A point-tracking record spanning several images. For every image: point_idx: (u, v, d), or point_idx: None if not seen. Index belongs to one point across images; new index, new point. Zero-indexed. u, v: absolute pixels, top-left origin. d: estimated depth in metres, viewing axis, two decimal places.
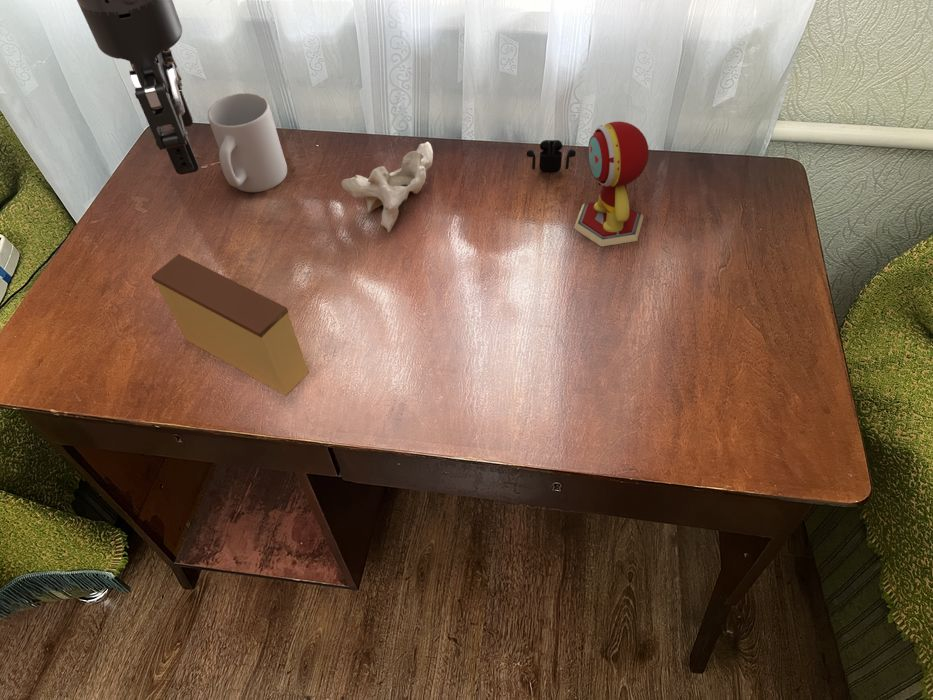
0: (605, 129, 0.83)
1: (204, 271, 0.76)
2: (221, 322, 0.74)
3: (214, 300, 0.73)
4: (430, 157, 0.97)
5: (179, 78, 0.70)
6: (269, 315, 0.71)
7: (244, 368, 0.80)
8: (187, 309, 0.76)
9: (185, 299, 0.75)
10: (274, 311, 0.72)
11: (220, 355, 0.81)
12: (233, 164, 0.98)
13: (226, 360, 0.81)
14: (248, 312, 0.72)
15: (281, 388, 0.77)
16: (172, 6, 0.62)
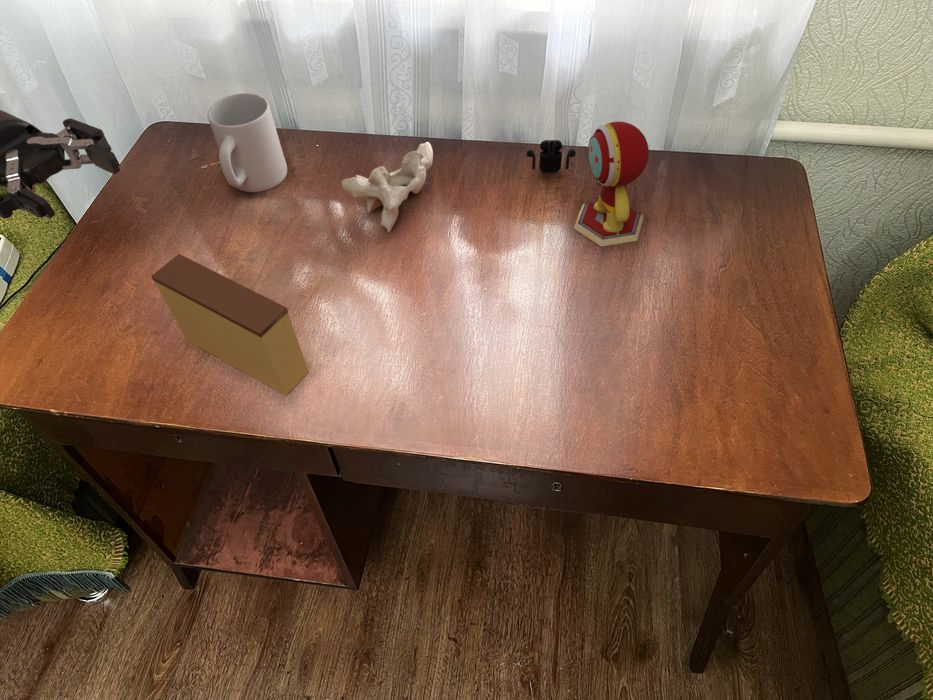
0: (605, 129, 0.83)
1: (204, 271, 0.76)
2: (221, 322, 0.74)
3: (214, 300, 0.73)
4: (430, 157, 0.97)
5: None
6: (269, 315, 0.71)
7: (244, 368, 0.80)
8: (187, 309, 0.76)
9: (185, 299, 0.75)
10: (274, 311, 0.72)
11: (220, 355, 0.81)
12: (233, 164, 0.98)
13: (226, 360, 0.81)
14: (248, 312, 0.72)
15: (281, 388, 0.77)
16: None
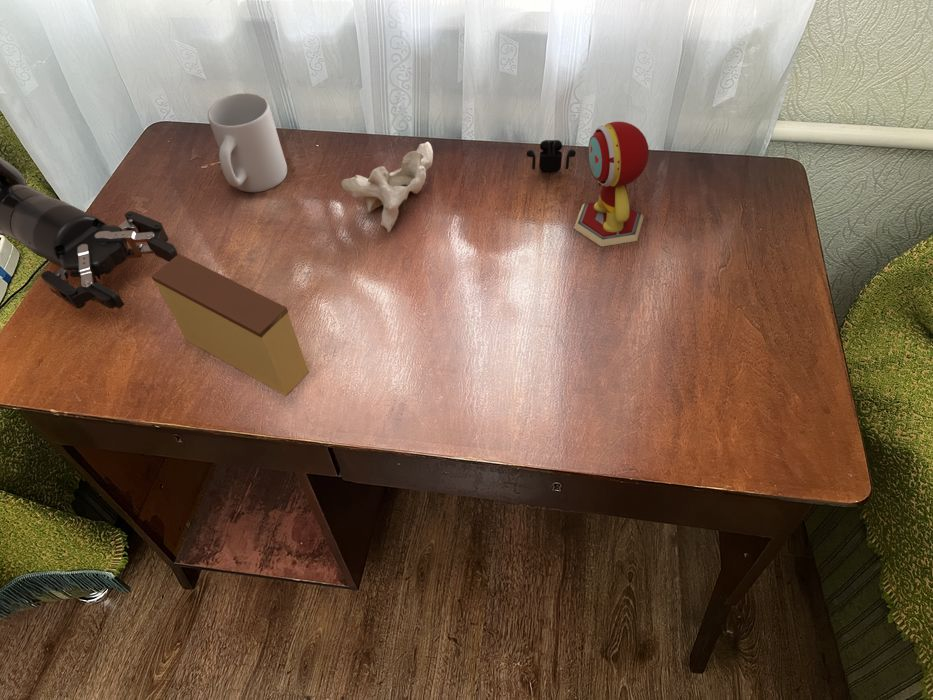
0: (605, 129, 0.83)
1: (204, 271, 0.76)
2: (221, 322, 0.74)
3: (214, 300, 0.73)
4: (430, 157, 0.97)
5: (101, 284, 0.84)
6: (269, 315, 0.71)
7: (244, 368, 0.80)
8: (187, 309, 0.76)
9: (185, 299, 0.75)
10: (274, 311, 0.72)
11: (220, 355, 0.81)
12: (233, 164, 0.98)
13: (226, 360, 0.81)
14: (248, 312, 0.72)
15: (281, 388, 0.77)
16: None
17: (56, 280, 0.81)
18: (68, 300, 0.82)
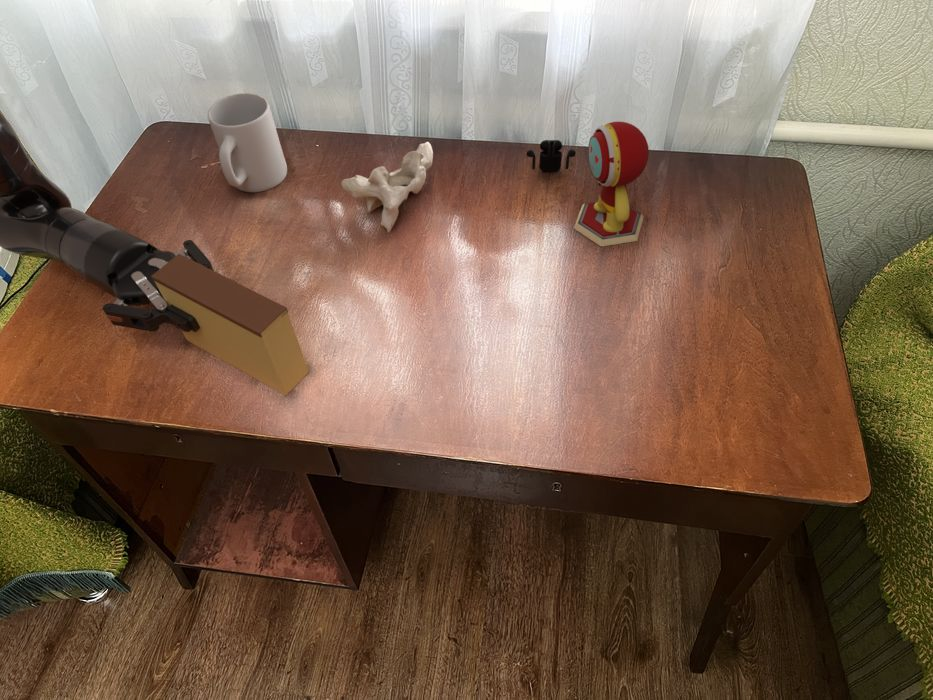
0: (605, 129, 0.83)
1: (204, 271, 0.76)
2: (221, 322, 0.74)
3: (214, 300, 0.73)
4: (430, 157, 0.97)
5: None
6: (269, 315, 0.71)
7: (244, 368, 0.80)
8: (187, 309, 0.76)
9: (185, 299, 0.75)
10: (274, 311, 0.72)
11: (220, 355, 0.81)
12: (233, 164, 0.98)
13: (226, 360, 0.81)
14: (248, 312, 0.72)
15: (281, 388, 0.77)
16: None
17: (123, 309, 0.78)
18: (140, 326, 0.79)
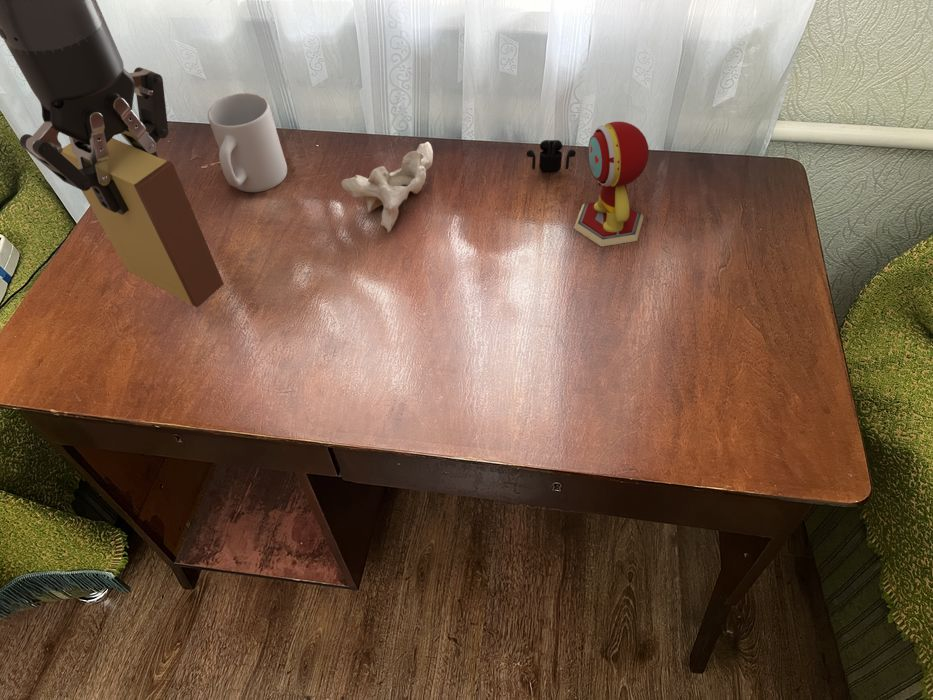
0: (605, 129, 0.83)
1: (185, 204, 0.67)
2: (162, 258, 0.70)
3: (180, 252, 0.69)
4: (430, 157, 0.97)
5: None
6: (210, 288, 0.75)
7: (111, 234, 0.73)
8: (132, 211, 0.66)
9: (149, 222, 0.66)
10: (215, 284, 0.75)
11: (93, 203, 0.70)
12: (233, 164, 0.98)
13: (95, 210, 0.71)
14: (198, 279, 0.73)
15: (134, 273, 0.78)
16: None
17: (62, 163, 0.59)
18: (57, 173, 0.61)
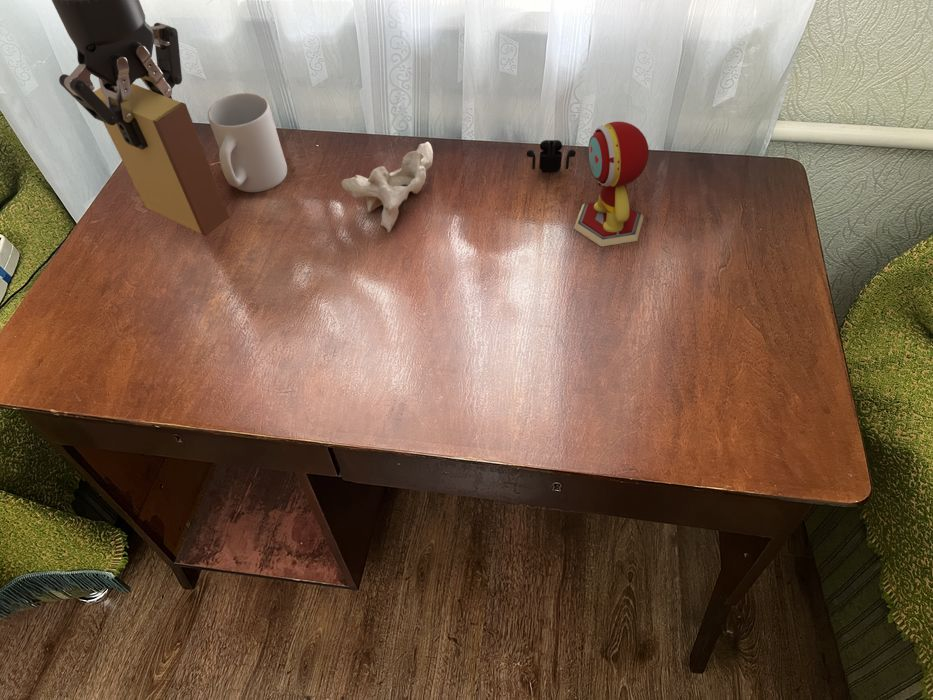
0: (605, 129, 0.83)
1: (196, 142, 0.79)
2: (176, 190, 0.82)
3: (191, 184, 0.81)
4: (430, 157, 0.97)
5: None
6: (217, 219, 0.86)
7: (132, 171, 0.85)
8: (151, 146, 0.78)
9: (165, 156, 0.77)
10: (221, 217, 0.87)
11: (117, 143, 0.82)
12: (233, 164, 0.98)
13: (119, 149, 0.82)
14: (207, 210, 0.84)
15: (151, 209, 0.89)
16: None
17: (94, 99, 0.70)
18: (89, 109, 0.72)
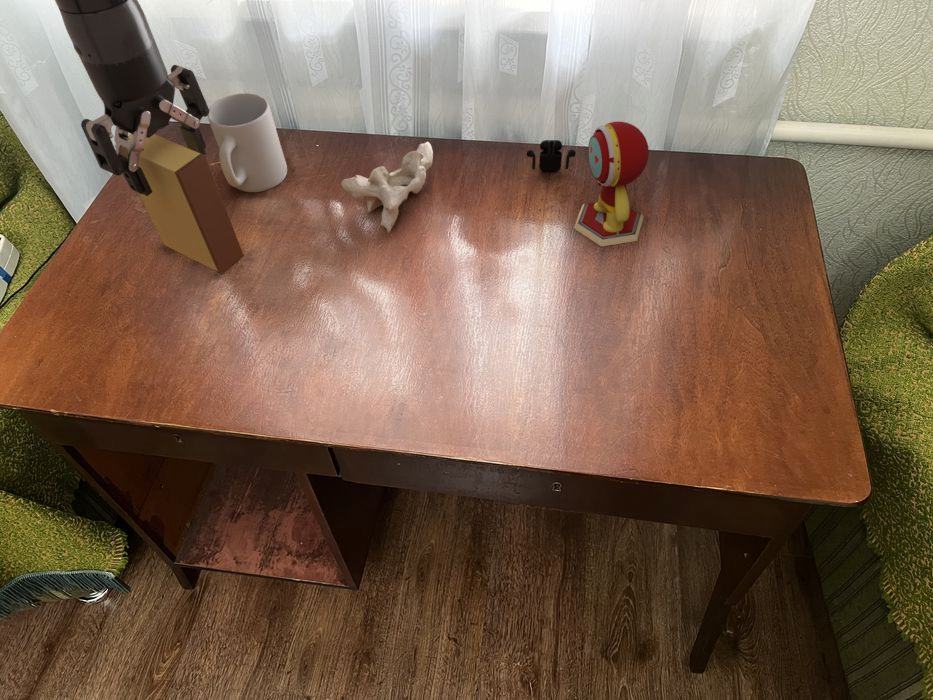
0: (605, 129, 0.83)
1: (213, 188, 0.84)
2: (195, 232, 0.87)
3: (209, 227, 0.86)
4: (430, 157, 0.97)
5: None
6: (232, 258, 0.91)
7: (152, 213, 0.90)
8: (172, 193, 0.83)
9: (185, 202, 0.83)
10: (236, 256, 0.92)
11: None
12: (233, 164, 0.98)
13: (141, 194, 0.88)
14: (223, 250, 0.89)
15: (170, 247, 0.94)
16: None
17: (109, 146, 0.74)
18: (98, 157, 0.75)
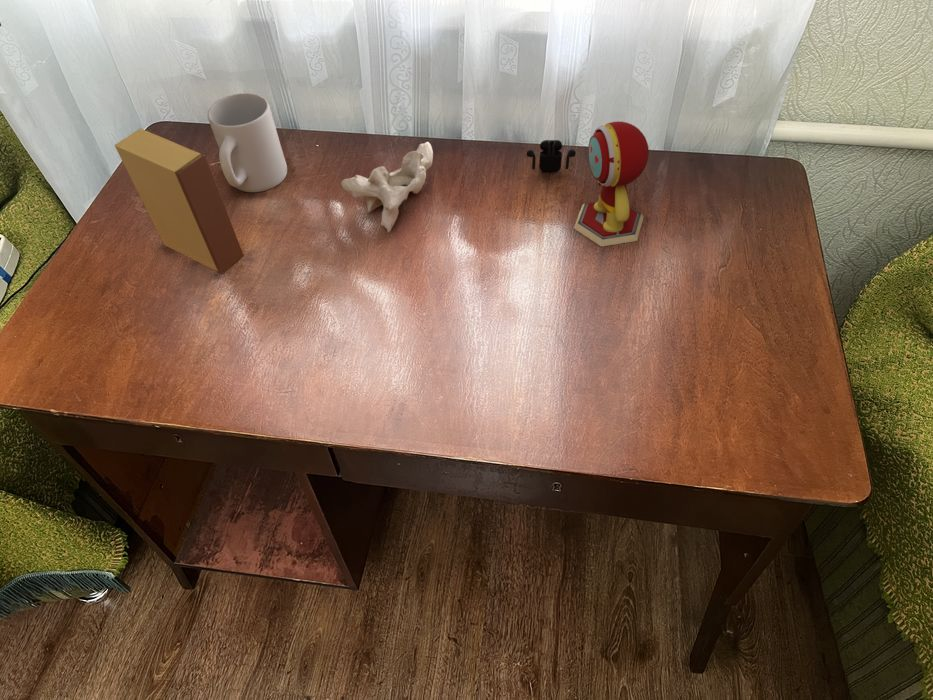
0: (605, 129, 0.83)
1: (213, 188, 0.84)
2: (195, 232, 0.87)
3: (209, 227, 0.86)
4: (430, 157, 0.97)
5: None
6: (232, 258, 0.91)
7: (152, 213, 0.90)
8: (172, 193, 0.83)
9: (185, 202, 0.83)
10: (236, 256, 0.92)
11: (139, 188, 0.87)
12: (233, 164, 0.98)
13: (141, 194, 0.88)
14: (223, 250, 0.89)
15: (170, 247, 0.94)
16: None
17: None
18: None
